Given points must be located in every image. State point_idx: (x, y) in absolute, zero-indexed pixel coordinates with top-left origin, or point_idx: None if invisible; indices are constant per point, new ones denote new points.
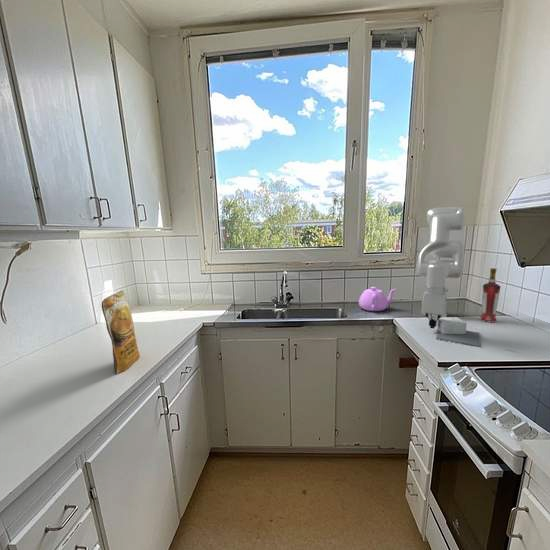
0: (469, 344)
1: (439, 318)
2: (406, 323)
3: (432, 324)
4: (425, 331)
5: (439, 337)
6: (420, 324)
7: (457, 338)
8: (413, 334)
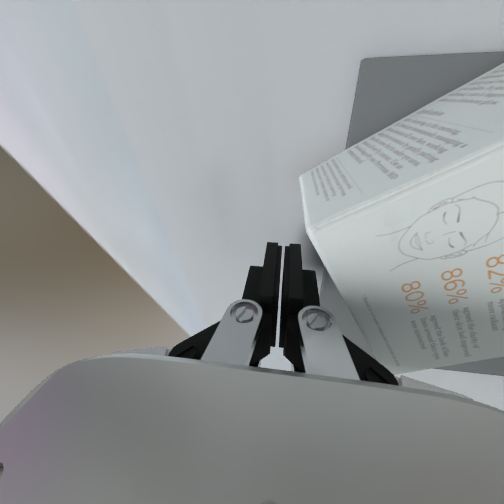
0: (488, 371)
1: (366, 263)
2: (38, 115)
3: (280, 316)
4: (238, 254)
5: None
6: (144, 58)
7: None
8: (193, 324)
